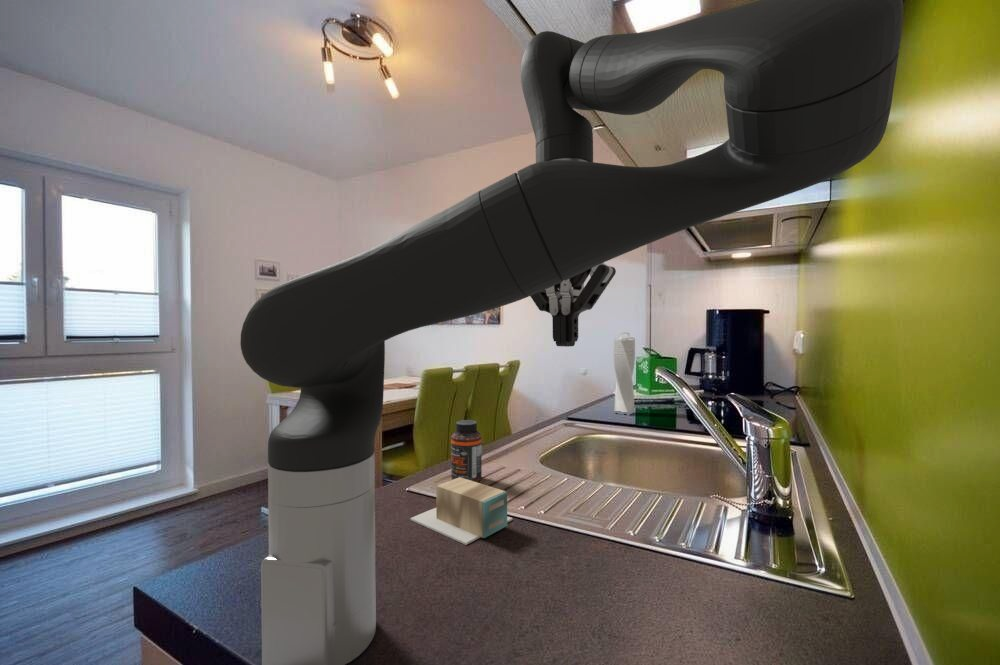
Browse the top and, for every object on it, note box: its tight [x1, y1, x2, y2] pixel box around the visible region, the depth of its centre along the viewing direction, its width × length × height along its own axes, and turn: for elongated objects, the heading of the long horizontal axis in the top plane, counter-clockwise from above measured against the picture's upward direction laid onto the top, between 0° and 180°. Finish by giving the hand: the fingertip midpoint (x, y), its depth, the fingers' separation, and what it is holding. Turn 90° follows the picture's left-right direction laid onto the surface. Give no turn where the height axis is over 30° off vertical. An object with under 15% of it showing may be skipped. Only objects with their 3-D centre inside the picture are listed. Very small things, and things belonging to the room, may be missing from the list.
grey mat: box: [410, 507, 513, 546], centre depth 66 cm, size 12×10×1 cm
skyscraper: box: [612, 332, 636, 412], centre depth 148 cm, size 8×8×28 cm
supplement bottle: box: [450, 419, 483, 483], centre depth 83 cm, size 6×6×11 cm
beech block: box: [435, 477, 508, 539], centre depth 64 cm, size 5×5×10 cm
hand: (565, 346), depth 53 cm, fingers closed
